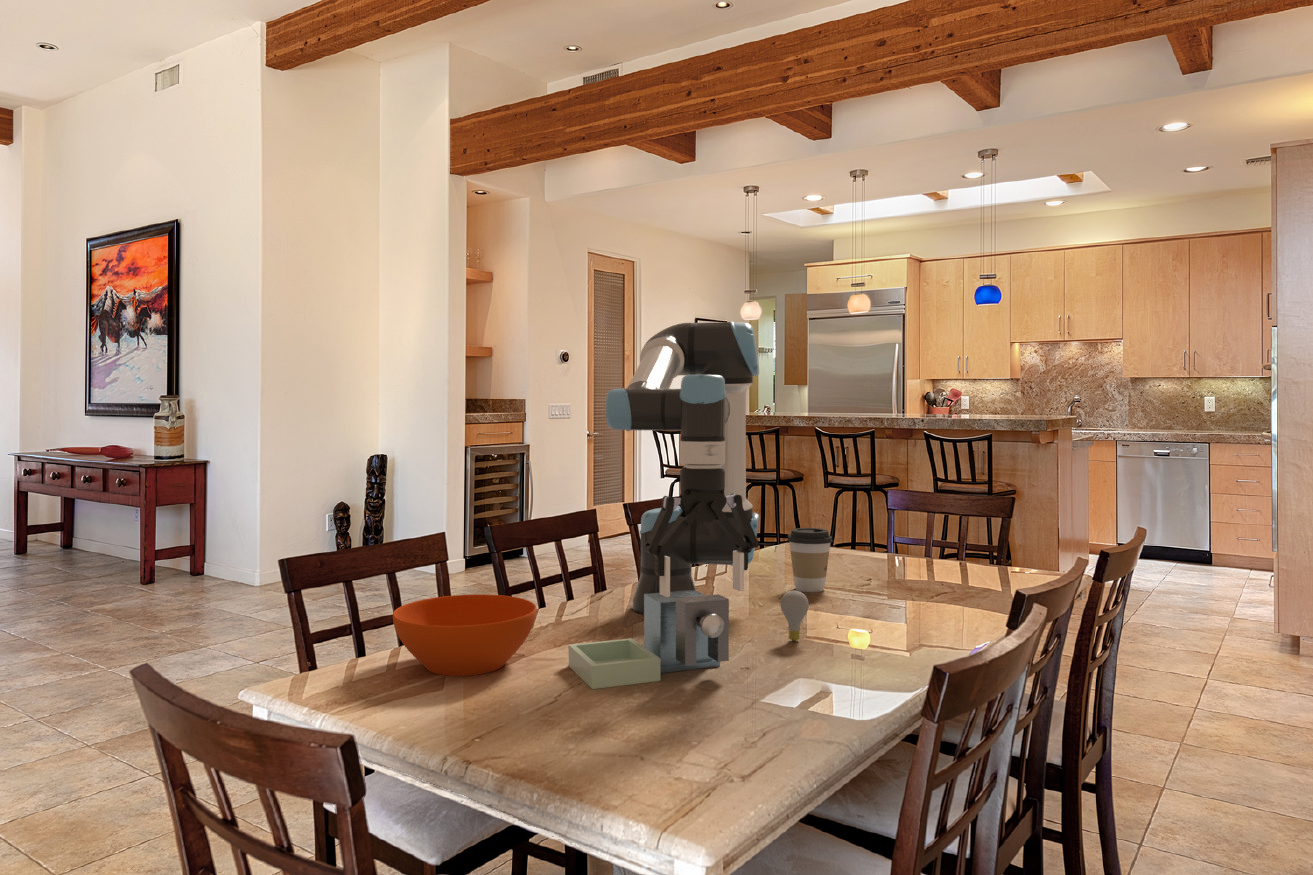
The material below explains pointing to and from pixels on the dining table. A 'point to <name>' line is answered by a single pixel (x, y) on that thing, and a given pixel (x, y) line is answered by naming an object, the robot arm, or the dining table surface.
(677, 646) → the grey u-shaped block
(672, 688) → the dining table surface
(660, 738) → the dining table surface
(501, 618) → the bowl
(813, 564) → the coffee cup
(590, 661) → the tray
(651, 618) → the blue knob box
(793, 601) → the light bulb
